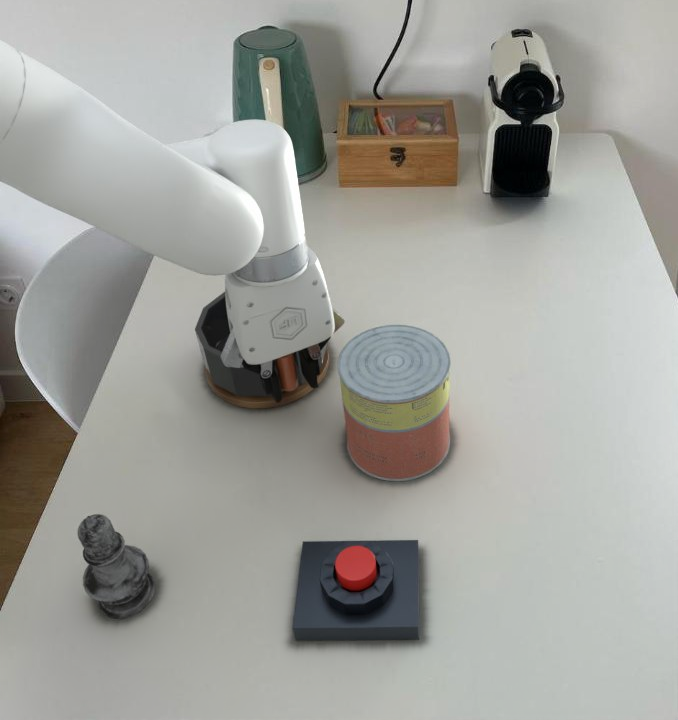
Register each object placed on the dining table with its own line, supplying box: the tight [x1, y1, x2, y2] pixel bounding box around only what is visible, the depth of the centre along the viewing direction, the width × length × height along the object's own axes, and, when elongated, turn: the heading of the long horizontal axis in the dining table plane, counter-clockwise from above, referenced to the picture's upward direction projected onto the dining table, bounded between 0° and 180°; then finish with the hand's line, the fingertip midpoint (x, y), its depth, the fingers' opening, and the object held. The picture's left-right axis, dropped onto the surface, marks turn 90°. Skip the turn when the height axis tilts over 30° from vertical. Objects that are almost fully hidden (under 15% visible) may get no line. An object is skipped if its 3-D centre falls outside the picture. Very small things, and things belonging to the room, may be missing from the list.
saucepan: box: [194, 291, 328, 397], centre depth 94 cm, size 17×14×8 cm
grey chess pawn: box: [77, 513, 156, 620], centre depth 72 cm, size 6×6×12 cm
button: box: [335, 546, 377, 591], centre depth 72 cm, size 4×4×2 cm
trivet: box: [204, 342, 330, 409], centre depth 99 cm, size 15×15×1 cm
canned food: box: [337, 324, 451, 482], centre depth 85 cm, size 11×11×12 cm
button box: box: [292, 539, 420, 642], centre depth 74 cm, size 11×9×4 cm
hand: (292, 386), depth 90 cm, fingers open, 3 cm apart
